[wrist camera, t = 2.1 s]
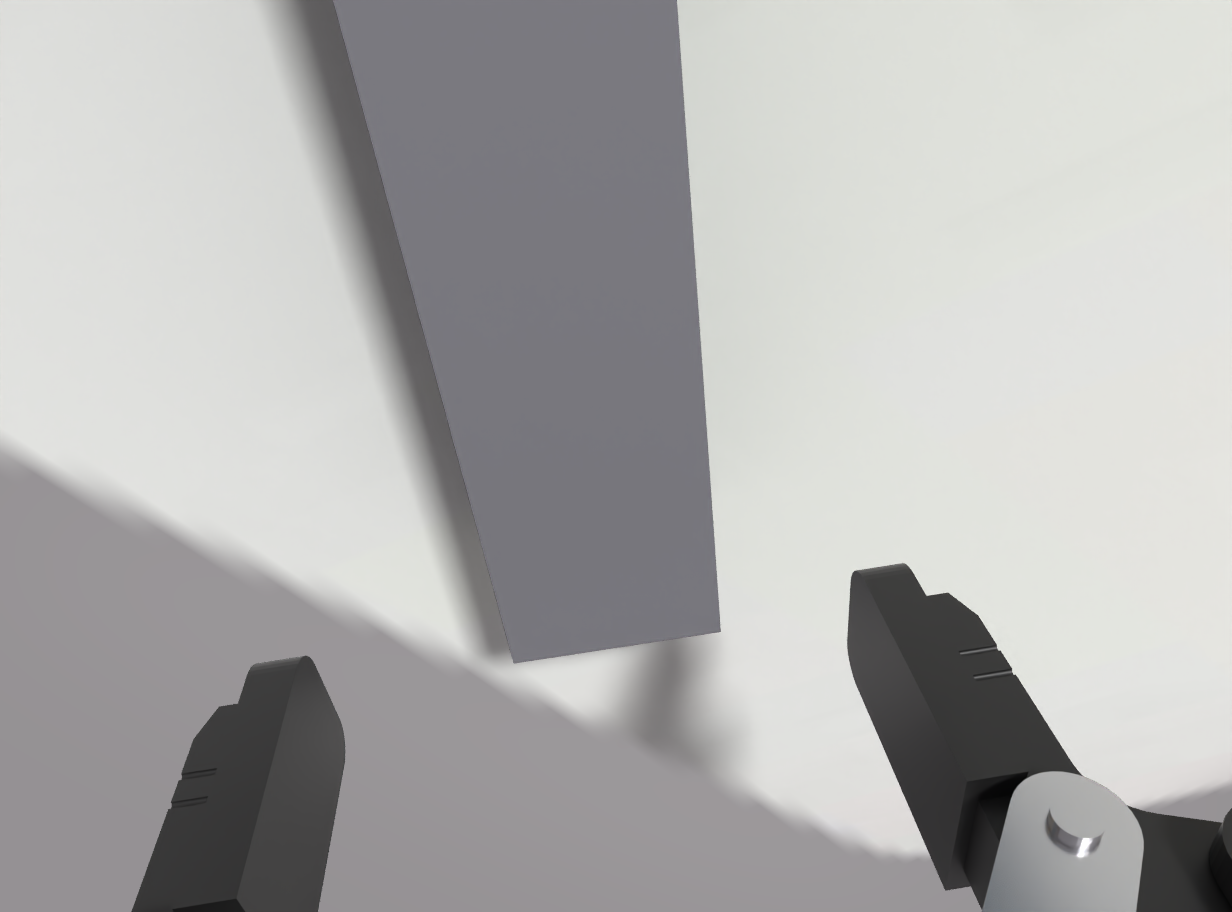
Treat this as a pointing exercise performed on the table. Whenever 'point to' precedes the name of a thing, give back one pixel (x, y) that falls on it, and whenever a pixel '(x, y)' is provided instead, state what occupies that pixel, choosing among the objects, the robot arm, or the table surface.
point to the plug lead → (555, 298)
